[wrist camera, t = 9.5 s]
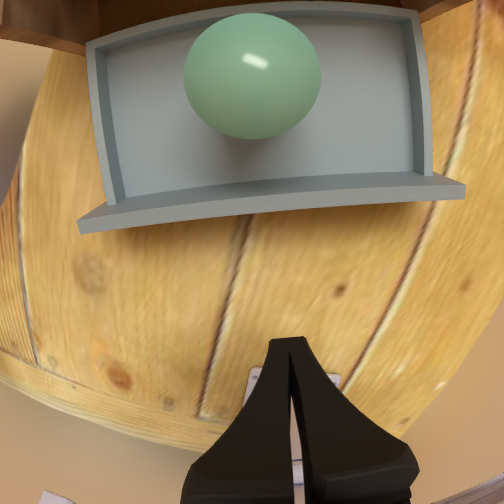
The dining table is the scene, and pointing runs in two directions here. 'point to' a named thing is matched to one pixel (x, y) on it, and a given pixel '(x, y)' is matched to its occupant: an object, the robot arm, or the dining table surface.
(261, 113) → the sea green cylinder
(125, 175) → the drawer tray
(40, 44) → the wooden drawer box
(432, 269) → the dining table surface
